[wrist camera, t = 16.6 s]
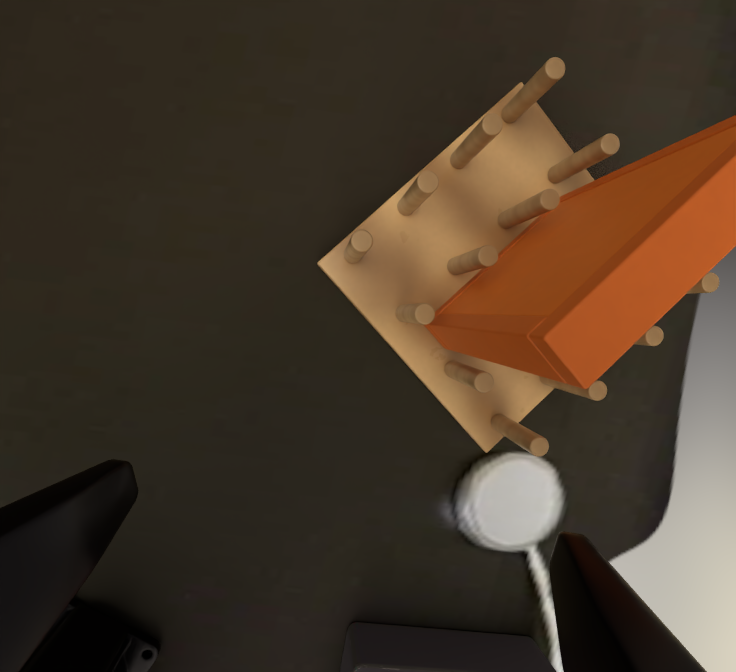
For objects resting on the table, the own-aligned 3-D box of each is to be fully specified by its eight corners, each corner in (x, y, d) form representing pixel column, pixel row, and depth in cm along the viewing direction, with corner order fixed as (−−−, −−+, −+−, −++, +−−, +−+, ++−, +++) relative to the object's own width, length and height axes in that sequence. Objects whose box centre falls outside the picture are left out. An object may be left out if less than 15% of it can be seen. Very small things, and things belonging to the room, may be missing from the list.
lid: (444, 349, 21) (587, 391, 10) (422, 323, 21) (543, 337, 10) (581, 222, 21) (857, 130, 10) (560, 195, 21) (822, 74, 10)
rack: (482, 449, 22) (525, 485, 18) (316, 264, 20) (317, 251, 16) (659, 280, 23) (745, 273, 18) (515, 87, 21) (571, 25, 17)
